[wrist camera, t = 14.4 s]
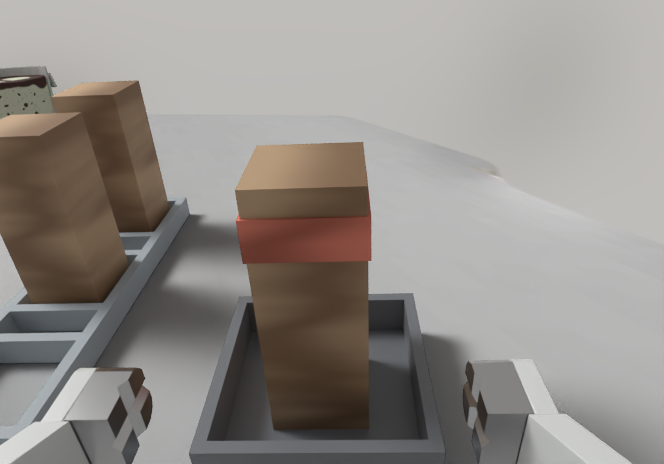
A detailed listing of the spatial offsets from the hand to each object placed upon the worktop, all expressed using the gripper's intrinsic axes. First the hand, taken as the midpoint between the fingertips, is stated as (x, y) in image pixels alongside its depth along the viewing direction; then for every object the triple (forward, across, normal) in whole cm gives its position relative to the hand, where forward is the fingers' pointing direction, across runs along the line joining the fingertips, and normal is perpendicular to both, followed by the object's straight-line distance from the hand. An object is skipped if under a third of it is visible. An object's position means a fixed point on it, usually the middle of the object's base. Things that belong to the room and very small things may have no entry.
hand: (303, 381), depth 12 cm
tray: (+6, 0, +8) cm, 10 cm away
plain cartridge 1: (+23, +15, +8) cm, 28 cm away
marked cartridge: (+6, 0, +8) cm, 10 cm away
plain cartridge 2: (+15, +15, +8) cm, 23 cm away
